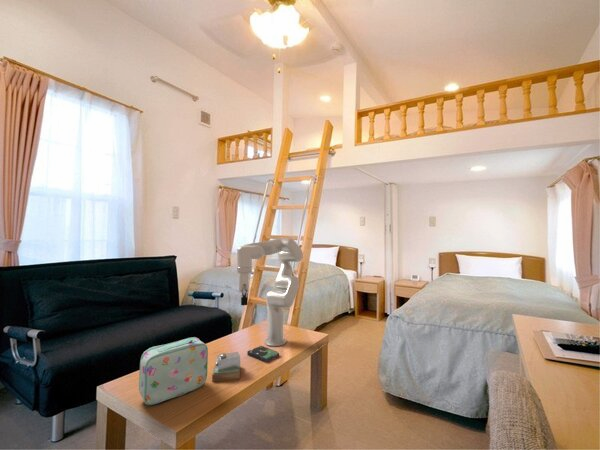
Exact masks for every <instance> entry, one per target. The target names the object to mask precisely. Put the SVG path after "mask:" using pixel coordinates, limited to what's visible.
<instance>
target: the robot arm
mask: <svg viewBox="0 0 600 450" xmlns="http://www.w3.org/2000/svg"><path fill="white" fill-rule="evenodd" d="M236 251H237V252H236V258H237V259H236V263H237V264H236V269H237V270H236V272H237V274H238V293H239V294H241V298H240V305H241V306H248V305H249V304H248V298H249V297H248V296H249V294H248V293H249V289H250V274H252V271H253V265H252V264H253V260H260V259H262V258H263V257H264V256H272V255H275V254H277V256H278V259H279V260H278V261H279V265H280V266H279V270H278V272H277V276H276V277H275V280H274V283H273V286H274V289H271V290H269V291H267V293H266V295H265V302H266V308H267V309H266V311H267V338H266V339H265V340H264V344H265V345H266V346H269V347H281V346H283V345H286V342H287V340H286V338H284V312H283V308H284V309H289V308H291V307H292V306H293V304H294V302H295V299H296V297H297V294H298V292H299V288H300V280H299V278H298V276H295V275H292V274H293V273H294V272H293V267H292V265H291V263H298V262H299V263H300V262H301V261H302V260H303V257H304V253H303V251H302V249H301V247H300V246H299V245H298V243H297V242H296V240H294V239H292V238H290V237H289V238H288V237H287V238H286V237H285V238H284V237H283V238H281V237H280V238H278V237H277V238H274V239H269V240H266V241H260V242H253V243H247V244H244V245H240V246H238V247H237V249H236ZM290 262H291V263H290Z"/></svg>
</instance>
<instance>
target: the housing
mask: <svg viewBox="0 0 600 450" xmlns="http://www.w3.org/2000/svg"><path fill="white" fill-rule="evenodd" d="M215 365H216V366H217V368H218V371H223V370H228V369H233V368H239V367H240V368H241V355H240V353H239V351H233V352H228V353H227V352H226V353H225V352H223V353H220V354H216V362H215V363H214V366H215Z"/></svg>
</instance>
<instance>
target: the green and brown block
mask: <svg viewBox="0 0 600 450" xmlns="http://www.w3.org/2000/svg"><path fill="white" fill-rule="evenodd" d="M240 375H241V366H240V367H239V368H233V369H228V370H223V371H218V368H217V366H216V365H215V364H214V367H213V371H212V374H211V382H222V381H234V380H235V381H236V380H240Z"/></svg>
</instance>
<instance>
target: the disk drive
mask: <svg viewBox="0 0 600 450" xmlns="http://www.w3.org/2000/svg"><path fill="white" fill-rule="evenodd" d="M246 356H249V357H251V358H253V359H255V360H258V361H260V362H262V363H265V364H267V363H268V362H270V361H273V360H275V359H277V358H279V357H280V353H279V352H278V351H277V350H274V349H271V348H269V347H265V346H263V345H260V346H259V345H258V346H257V347H255V348H252V349H249V350H248V351H247V355H246Z"/></svg>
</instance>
